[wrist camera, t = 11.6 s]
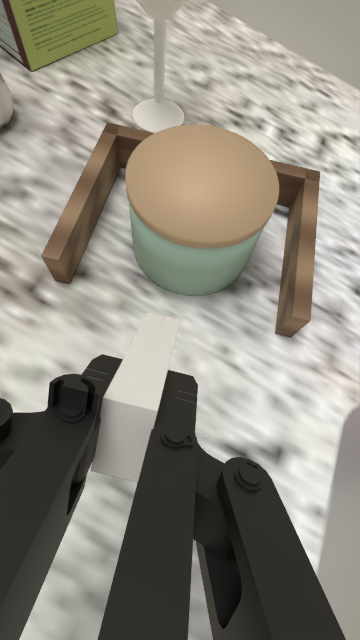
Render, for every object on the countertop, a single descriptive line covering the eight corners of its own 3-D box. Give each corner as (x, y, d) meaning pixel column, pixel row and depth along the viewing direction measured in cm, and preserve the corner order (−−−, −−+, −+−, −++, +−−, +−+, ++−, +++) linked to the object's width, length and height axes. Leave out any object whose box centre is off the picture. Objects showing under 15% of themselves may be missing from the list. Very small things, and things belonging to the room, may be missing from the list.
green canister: (182, 320, 29) (193, 269, 21) (109, 233, 32) (94, 160, 24) (271, 256, 33) (310, 192, 25) (198, 184, 36) (211, 107, 28)
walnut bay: (290, 337, 29) (310, 320, 26) (55, 280, 30) (41, 255, 26) (303, 199, 36) (319, 171, 33) (111, 155, 37) (107, 122, 33)
